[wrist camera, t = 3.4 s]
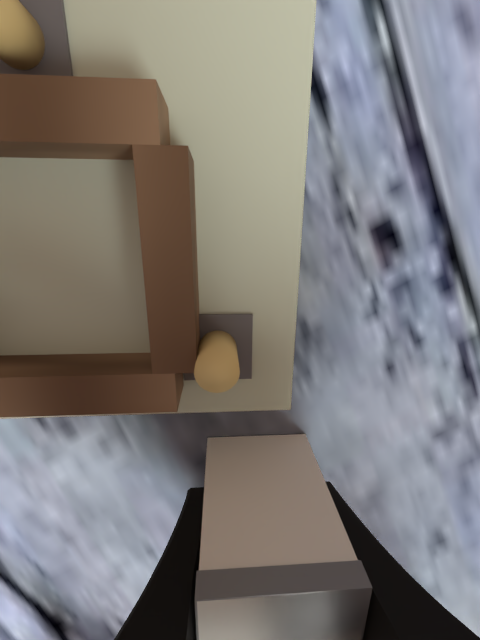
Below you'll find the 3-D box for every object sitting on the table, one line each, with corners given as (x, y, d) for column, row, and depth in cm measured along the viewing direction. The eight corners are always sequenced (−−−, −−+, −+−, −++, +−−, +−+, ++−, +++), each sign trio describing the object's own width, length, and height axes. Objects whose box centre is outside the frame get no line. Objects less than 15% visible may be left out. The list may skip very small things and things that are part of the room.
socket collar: (-50, 391, 9) (-99, 420, 8) (-141, 99, 7) (-232, 65, 6) (201, 384, 10) (198, 411, 8) (191, 109, 8) (185, 80, 6)
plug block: (208, 515, 13) (200, 706, 8) (206, 436, 12) (194, 599, 7) (300, 510, 13) (352, 692, 8) (306, 432, 12) (372, 587, 7)
